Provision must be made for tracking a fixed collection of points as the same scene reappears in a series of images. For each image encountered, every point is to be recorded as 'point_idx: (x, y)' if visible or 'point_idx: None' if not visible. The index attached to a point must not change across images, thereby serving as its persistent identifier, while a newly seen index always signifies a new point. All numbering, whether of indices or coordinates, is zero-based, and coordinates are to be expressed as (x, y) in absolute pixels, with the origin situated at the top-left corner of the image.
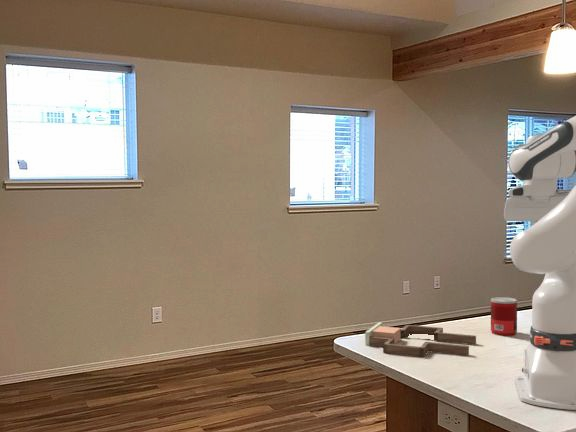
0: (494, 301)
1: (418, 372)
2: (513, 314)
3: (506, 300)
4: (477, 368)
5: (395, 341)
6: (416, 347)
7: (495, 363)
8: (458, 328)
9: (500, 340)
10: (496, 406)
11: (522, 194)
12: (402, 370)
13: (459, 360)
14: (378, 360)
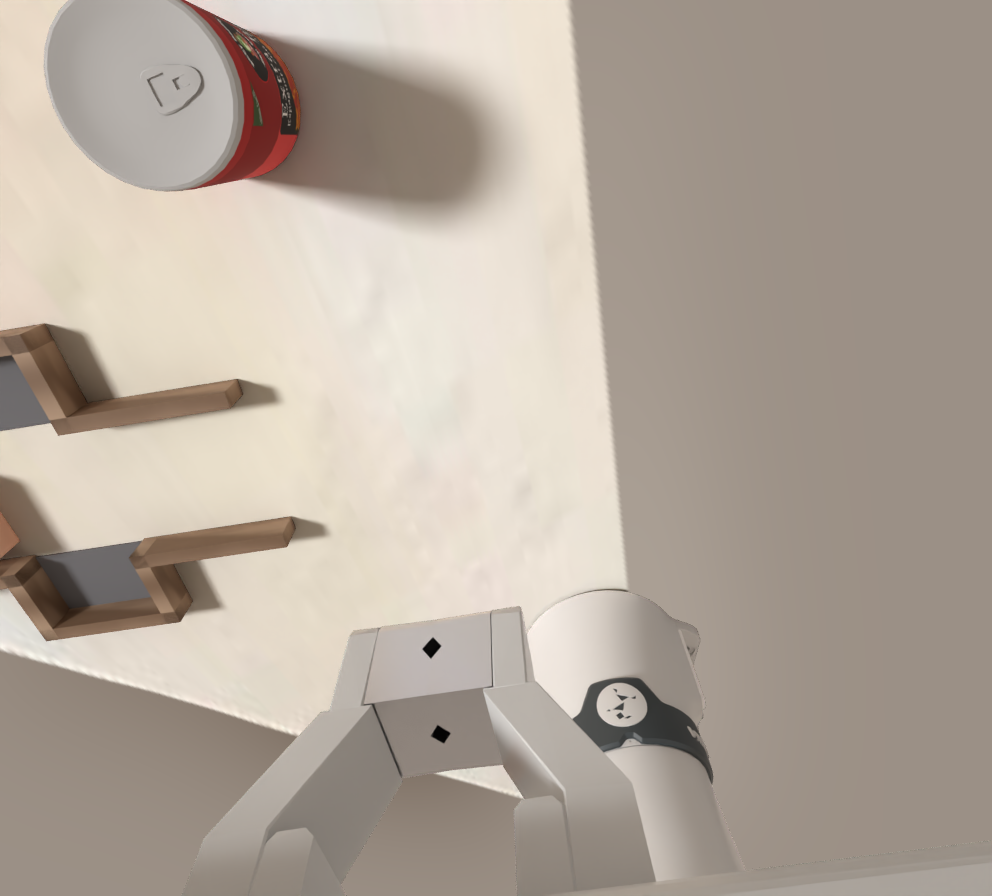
0: (120, 178)
1: (268, 702)
2: (265, 138)
3: (160, 81)
4: (378, 616)
5: (2, 532)
6: (155, 623)
7: (403, 556)
8: None
9: (291, 271)
10: (509, 776)
11: None
12: (226, 707)
13: (299, 579)
14: (115, 676)
